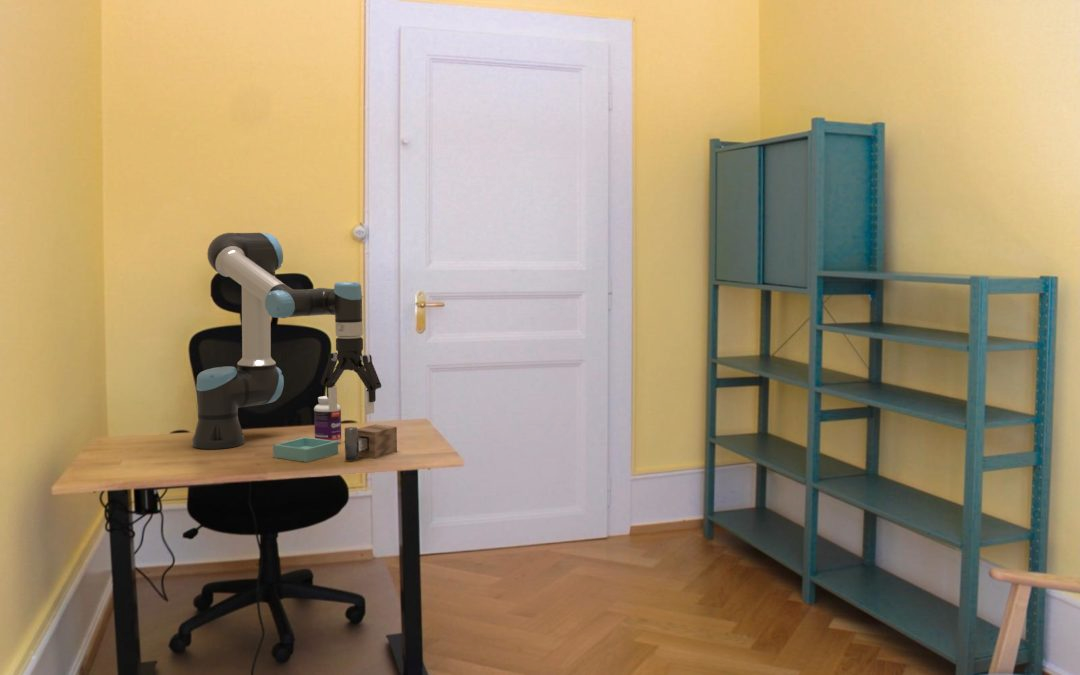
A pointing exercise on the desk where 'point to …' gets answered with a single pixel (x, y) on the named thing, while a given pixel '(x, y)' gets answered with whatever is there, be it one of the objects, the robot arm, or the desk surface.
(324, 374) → the robot arm
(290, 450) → the tray
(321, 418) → the pill bottle
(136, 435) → the desk surface
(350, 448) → the grey t-shaped piece
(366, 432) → the mount
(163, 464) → the desk surface
